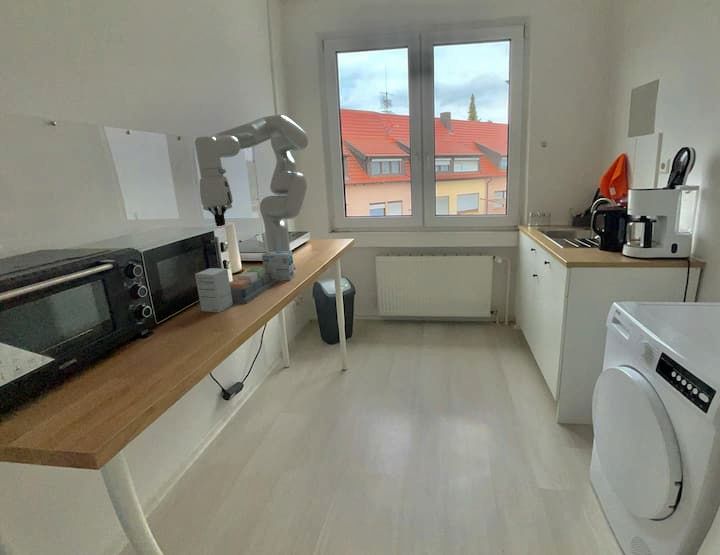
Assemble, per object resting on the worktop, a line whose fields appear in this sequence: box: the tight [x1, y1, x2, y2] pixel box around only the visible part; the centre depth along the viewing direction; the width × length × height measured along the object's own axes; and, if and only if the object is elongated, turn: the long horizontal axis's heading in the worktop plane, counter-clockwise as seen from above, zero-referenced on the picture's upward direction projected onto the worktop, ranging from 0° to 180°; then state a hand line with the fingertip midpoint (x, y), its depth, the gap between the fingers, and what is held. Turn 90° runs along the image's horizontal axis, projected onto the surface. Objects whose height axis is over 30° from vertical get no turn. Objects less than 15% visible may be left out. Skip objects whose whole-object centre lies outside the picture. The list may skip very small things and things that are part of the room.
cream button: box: [237, 271, 258, 283], centre depth 153 cm, size 5×5×4 cm
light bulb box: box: [261, 250, 296, 282], centre depth 169 cm, size 11×7×11 cm, turn 84°
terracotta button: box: [230, 279, 249, 289], centre depth 147 cm, size 5×5×4 cm
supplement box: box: [194, 267, 234, 313], centre depth 138 cm, size 7×7×13 cm
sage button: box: [246, 267, 266, 278], centre depth 160 cm, size 5×5×4 cm
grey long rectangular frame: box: [230, 273, 277, 304], centre depth 154 cm, size 24×10×4 cm, turn 167°
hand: (220, 225), depth 154 cm, fingers closed
